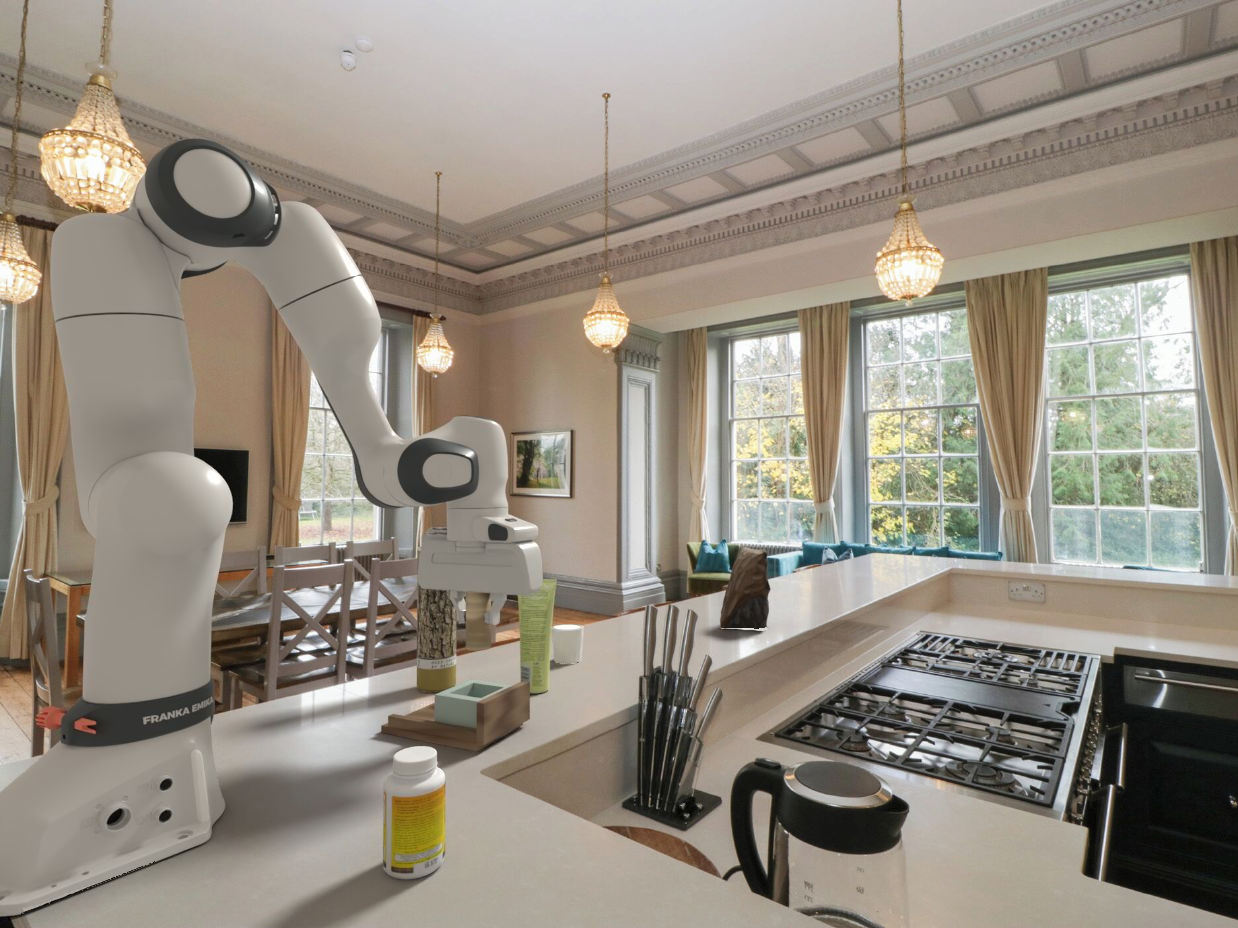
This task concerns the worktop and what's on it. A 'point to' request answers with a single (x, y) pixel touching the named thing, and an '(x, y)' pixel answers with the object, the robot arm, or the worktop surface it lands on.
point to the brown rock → (747, 592)
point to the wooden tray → (492, 723)
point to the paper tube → (435, 639)
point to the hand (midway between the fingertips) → (478, 622)
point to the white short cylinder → (567, 643)
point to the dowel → (477, 621)
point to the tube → (536, 635)
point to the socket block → (464, 702)
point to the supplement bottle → (414, 814)
